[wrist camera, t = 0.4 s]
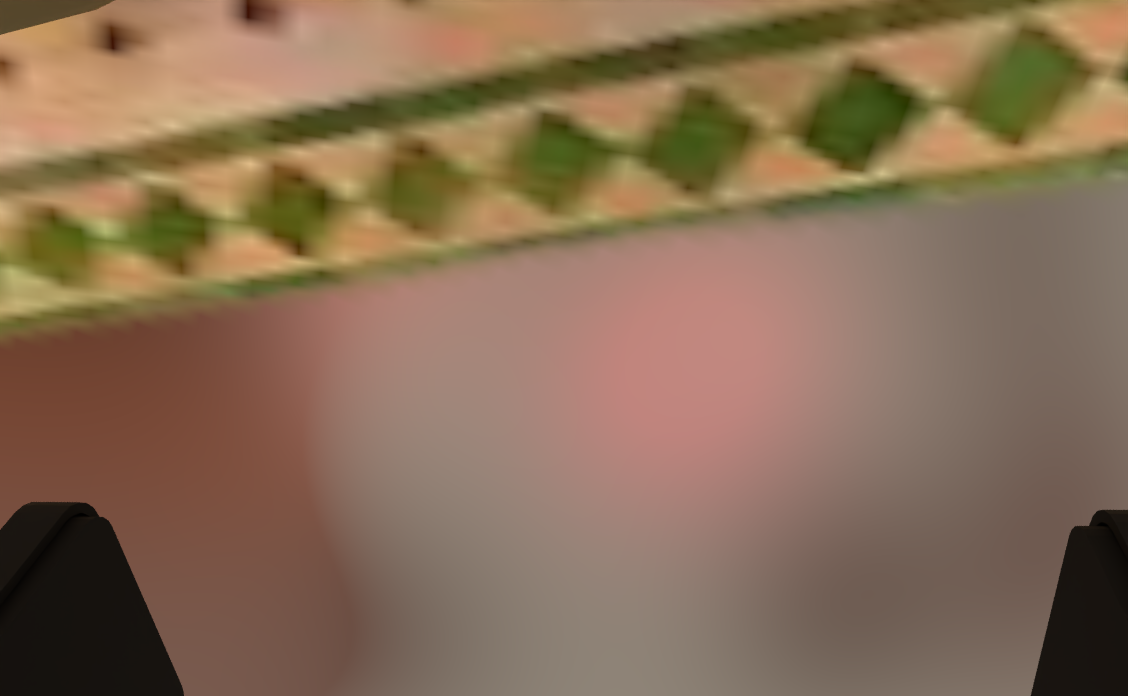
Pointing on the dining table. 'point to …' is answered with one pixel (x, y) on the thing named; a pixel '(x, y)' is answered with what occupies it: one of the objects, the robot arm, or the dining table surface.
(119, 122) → the dining table surface
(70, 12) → the squeeze bottle
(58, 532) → the robot arm
